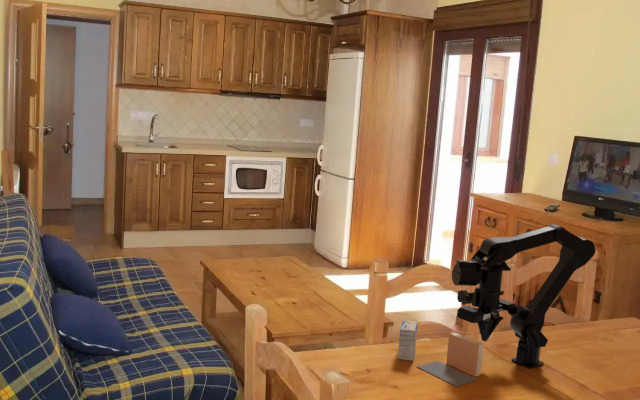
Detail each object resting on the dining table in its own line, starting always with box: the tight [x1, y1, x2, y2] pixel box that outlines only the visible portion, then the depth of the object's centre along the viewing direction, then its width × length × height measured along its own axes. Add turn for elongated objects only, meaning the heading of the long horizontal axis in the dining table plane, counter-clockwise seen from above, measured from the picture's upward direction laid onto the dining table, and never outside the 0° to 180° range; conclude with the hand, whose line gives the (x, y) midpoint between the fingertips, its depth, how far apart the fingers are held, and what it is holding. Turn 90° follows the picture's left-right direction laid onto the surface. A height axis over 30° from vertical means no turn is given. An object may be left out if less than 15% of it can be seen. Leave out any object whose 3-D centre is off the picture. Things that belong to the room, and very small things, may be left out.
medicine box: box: [397, 320, 418, 362], centre depth 190 cm, size 8×4×9 cm, turn 168°
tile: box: [446, 331, 485, 377], centre depth 183 cm, size 2×10×8 cm, turn 37°
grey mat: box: [416, 360, 478, 387], centre depth 180 cm, size 8×14×1 cm, turn 37°
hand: (484, 340), depth 187 cm, fingers closed
